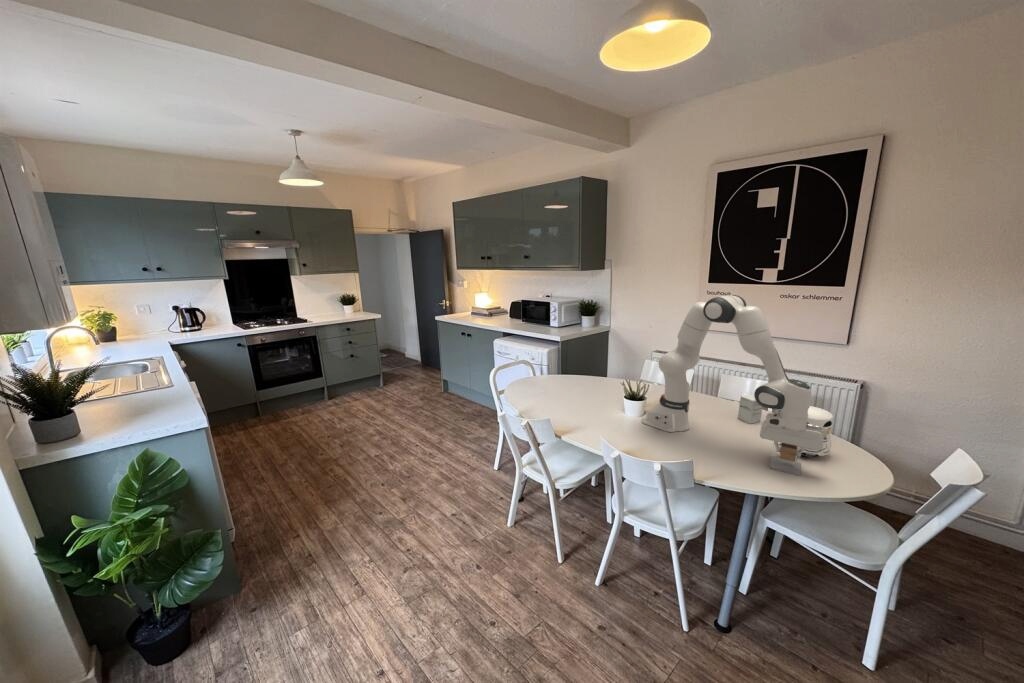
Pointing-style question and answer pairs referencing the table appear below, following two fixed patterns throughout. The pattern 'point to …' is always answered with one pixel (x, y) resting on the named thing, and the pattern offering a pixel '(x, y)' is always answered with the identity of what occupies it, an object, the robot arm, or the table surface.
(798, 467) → the coaster
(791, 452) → the walnut cube
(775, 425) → the robot arm
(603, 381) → the table surface
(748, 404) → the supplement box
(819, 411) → the milk container
